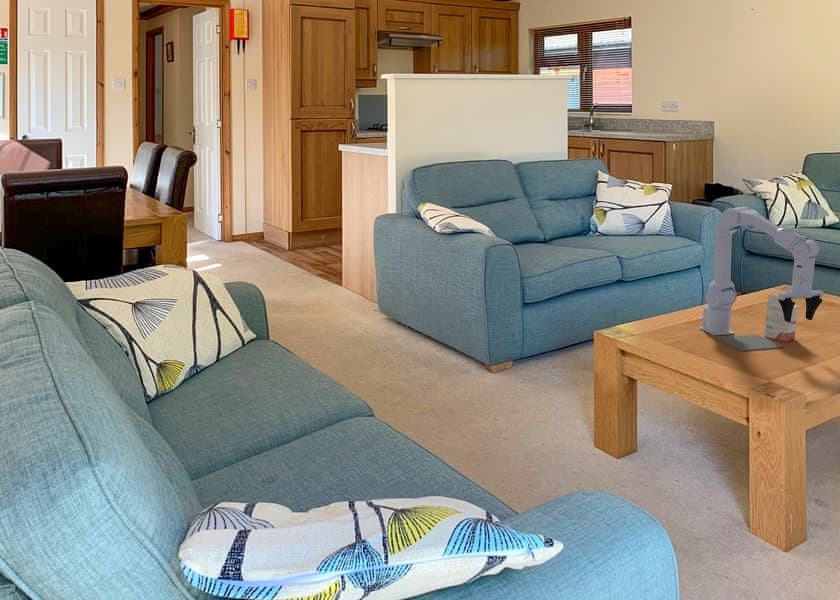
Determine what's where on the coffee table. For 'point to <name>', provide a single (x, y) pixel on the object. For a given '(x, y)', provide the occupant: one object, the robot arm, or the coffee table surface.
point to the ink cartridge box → (779, 321)
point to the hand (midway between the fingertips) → (798, 320)
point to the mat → (750, 342)
